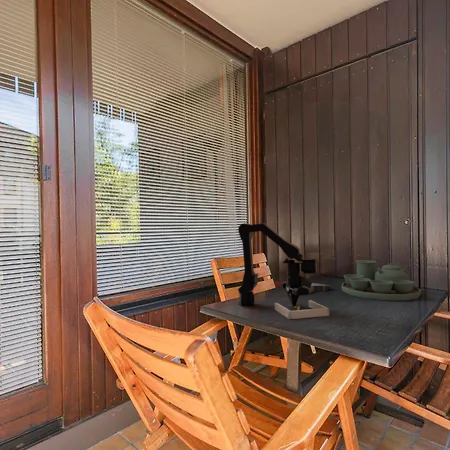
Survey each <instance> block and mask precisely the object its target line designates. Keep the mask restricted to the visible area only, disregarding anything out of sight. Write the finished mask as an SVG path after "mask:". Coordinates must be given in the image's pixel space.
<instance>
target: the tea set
mask: <svg viewBox="0 0 450 450" xmlns="http://www.w3.org/2000/svg"><path fill="white" fill-rule="evenodd" d="M355 262H356V274H355V273H354V274H351V273H350V274H344V275H343V277H344V281H345V282H342V284H341V292H343V293H345V294H347V295H349V296H352V297H357V298H358V297H359V298H362V299H367V300H377V301H378V300H379V301H389V302H390V301H391V302H393V301H394V302H395V301H397V302H399V301H400V302H402V301H405V302H406V301H412V300H417V299H419V298H420V296H421V294H422V289H421V288H419V287H417V286H415V283H416V282H415V281H413V280H410V274H409V271H408V270H407V269H406V268H402V267H401V266H400V265H396V264H394V263H392V262H391V263H389V264H384V265H382V266H381V267H382V268H380V267H378V268H377V271H376V264H377V260H367V259H359V260H358V259H357V260H355Z"/></svg>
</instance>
